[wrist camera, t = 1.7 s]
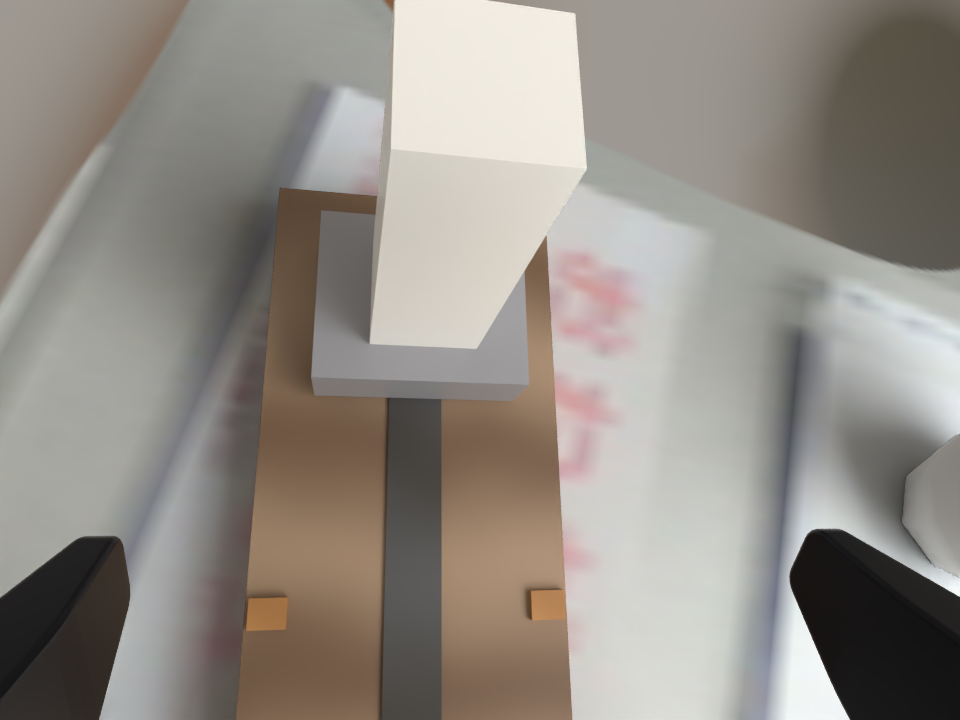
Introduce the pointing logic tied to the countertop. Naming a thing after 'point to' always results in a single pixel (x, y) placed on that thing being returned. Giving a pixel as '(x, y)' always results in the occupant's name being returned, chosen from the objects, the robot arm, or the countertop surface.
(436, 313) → the fader tab
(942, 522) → the salt shaker
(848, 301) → the countertop surface
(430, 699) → the brown slider track board
